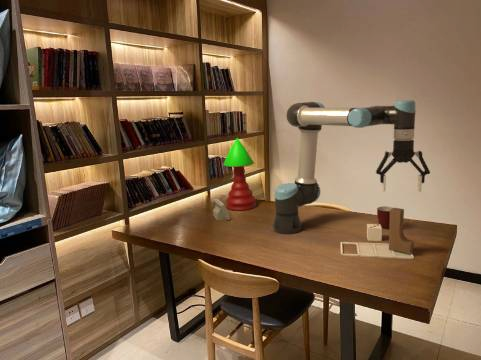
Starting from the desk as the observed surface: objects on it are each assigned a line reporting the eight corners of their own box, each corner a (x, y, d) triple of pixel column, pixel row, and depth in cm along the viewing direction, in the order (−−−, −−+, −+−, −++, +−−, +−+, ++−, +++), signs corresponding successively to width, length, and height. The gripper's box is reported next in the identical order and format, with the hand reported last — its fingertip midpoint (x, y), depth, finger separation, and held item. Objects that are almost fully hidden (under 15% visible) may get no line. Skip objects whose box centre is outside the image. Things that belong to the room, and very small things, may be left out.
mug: (400, 227, 183) (401, 208, 181) (396, 232, 177) (397, 212, 175) (379, 223, 190) (380, 205, 188) (374, 228, 184) (375, 209, 182)
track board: (340, 255, 155) (340, 254, 155) (340, 243, 168) (340, 241, 168) (414, 259, 148) (414, 257, 148) (407, 245, 161) (407, 244, 161)
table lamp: (246, 212, 223) (241, 139, 213) (219, 209, 234) (214, 139, 224) (261, 204, 239) (258, 135, 229) (236, 201, 250) (232, 135, 240)
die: (367, 240, 169) (368, 228, 168) (366, 235, 175) (367, 223, 174) (381, 240, 168) (381, 228, 167) (380, 236, 174) (380, 224, 172)
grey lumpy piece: (230, 221, 209) (229, 203, 206) (215, 222, 207) (213, 204, 205) (227, 213, 224) (226, 196, 222) (212, 214, 223) (211, 197, 221)
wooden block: (413, 251, 154) (415, 210, 150) (410, 254, 151) (412, 213, 147) (392, 246, 160) (393, 207, 156) (388, 249, 156) (389, 209, 153)
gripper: (371, 141, 146) (370, 192, 150) (440, 139, 139) (437, 193, 144) (370, 139, 153) (368, 188, 157) (435, 137, 146) (432, 188, 151)
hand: (401, 190), depth 150 cm, fingers open, 13 cm apart
